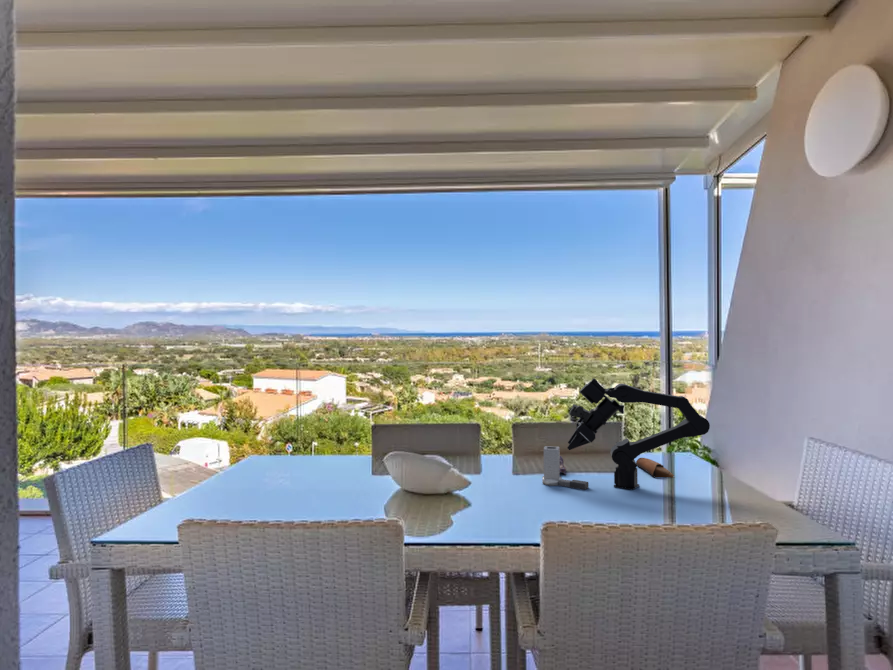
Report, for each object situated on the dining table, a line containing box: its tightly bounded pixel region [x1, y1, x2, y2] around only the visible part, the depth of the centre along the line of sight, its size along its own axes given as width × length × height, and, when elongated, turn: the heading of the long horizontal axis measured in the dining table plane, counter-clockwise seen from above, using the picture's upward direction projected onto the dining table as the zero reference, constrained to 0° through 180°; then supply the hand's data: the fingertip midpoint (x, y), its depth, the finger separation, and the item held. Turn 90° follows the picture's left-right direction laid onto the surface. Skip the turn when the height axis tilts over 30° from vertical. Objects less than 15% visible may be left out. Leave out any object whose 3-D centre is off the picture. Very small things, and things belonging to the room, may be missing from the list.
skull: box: [559, 455, 567, 475], centre depth 218 cm, size 12×8×6 cm, turn 2°
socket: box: [543, 445, 561, 480], centre depth 202 cm, size 5×5×10 cm
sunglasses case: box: [635, 457, 675, 478], centre depth 217 cm, size 18×7×7 cm
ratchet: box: [541, 475, 589, 491], centre depth 199 cm, size 16×6×4 cm, turn 53°
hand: (568, 446), depth 201 cm, fingers open, 9 cm apart
